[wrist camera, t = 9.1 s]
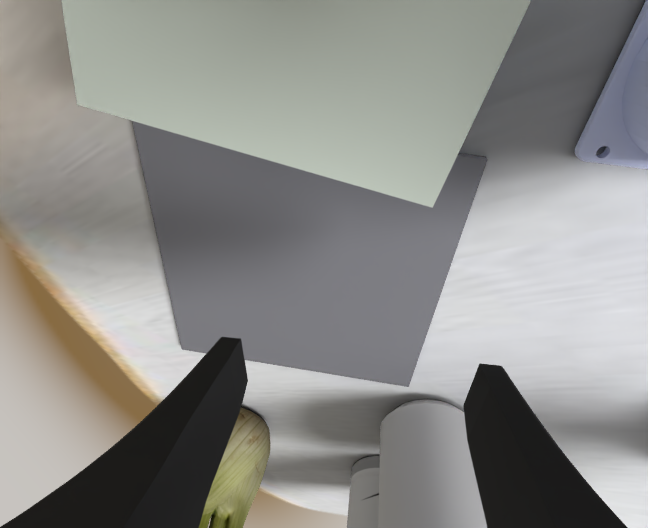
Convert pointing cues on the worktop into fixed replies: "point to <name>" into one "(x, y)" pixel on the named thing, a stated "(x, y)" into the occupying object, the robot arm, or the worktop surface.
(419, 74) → the lid
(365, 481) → the travel mug
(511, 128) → the worktop surface
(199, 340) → the mat
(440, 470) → the can
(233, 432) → the fennel bulb
